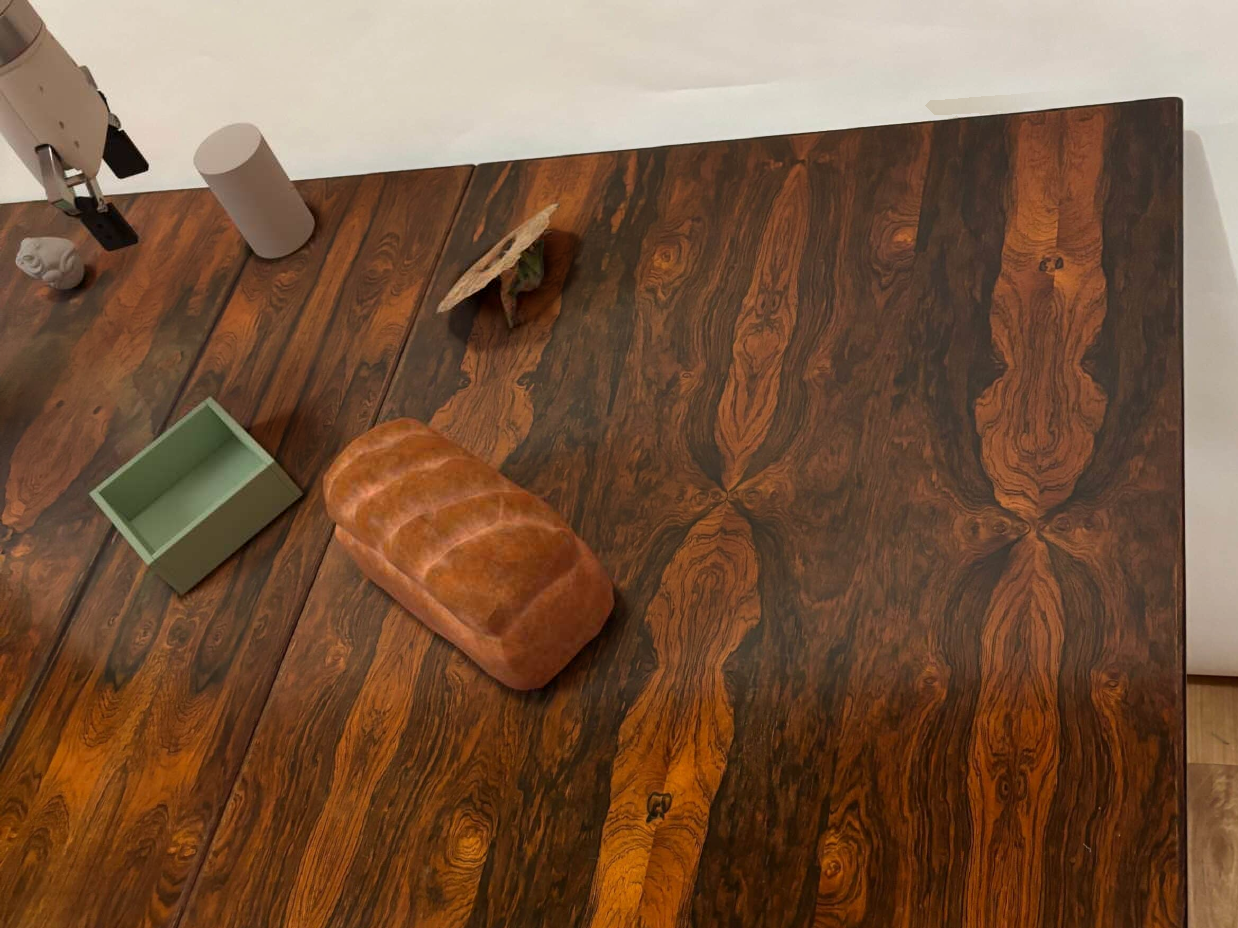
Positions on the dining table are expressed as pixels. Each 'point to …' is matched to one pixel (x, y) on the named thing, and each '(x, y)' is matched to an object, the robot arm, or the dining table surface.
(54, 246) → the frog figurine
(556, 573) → the bread
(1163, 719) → the dining table surface
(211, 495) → the tub
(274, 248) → the grey tilted cylinder
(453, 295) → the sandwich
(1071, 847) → the dining table surface
